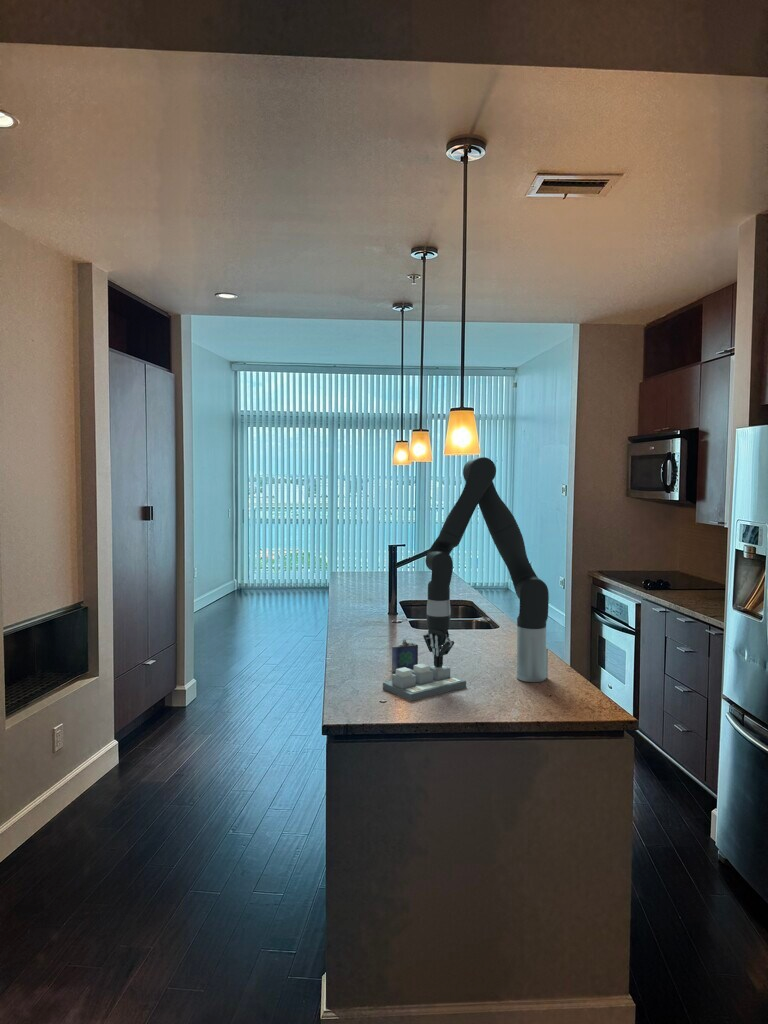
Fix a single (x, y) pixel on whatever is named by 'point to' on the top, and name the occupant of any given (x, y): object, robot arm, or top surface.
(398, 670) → the button
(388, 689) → the board
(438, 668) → the button
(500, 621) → the top surface
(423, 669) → the button middle
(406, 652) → the flask
